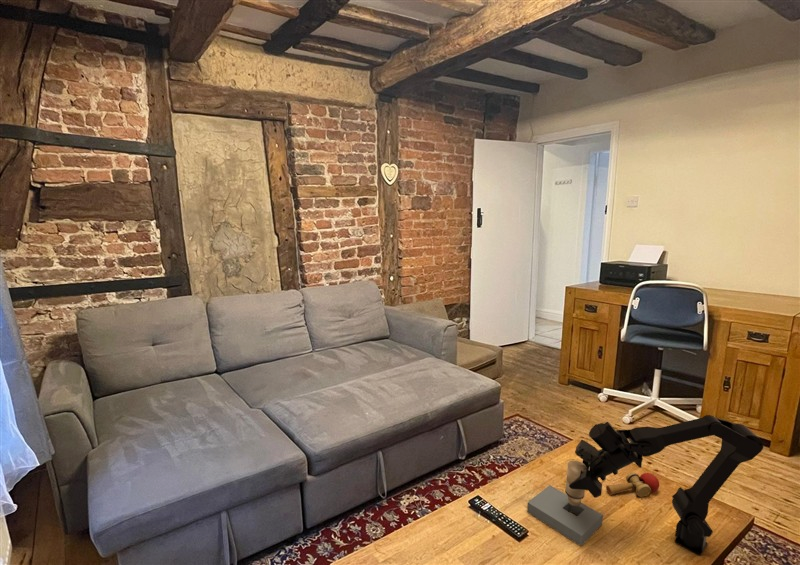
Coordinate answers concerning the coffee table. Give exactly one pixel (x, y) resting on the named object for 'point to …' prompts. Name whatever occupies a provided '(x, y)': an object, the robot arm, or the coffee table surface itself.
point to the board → (565, 515)
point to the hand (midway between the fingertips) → (570, 481)
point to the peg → (572, 475)
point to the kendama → (636, 484)
